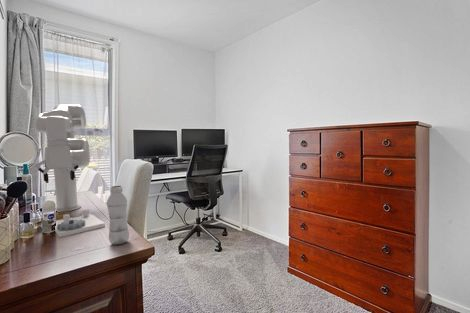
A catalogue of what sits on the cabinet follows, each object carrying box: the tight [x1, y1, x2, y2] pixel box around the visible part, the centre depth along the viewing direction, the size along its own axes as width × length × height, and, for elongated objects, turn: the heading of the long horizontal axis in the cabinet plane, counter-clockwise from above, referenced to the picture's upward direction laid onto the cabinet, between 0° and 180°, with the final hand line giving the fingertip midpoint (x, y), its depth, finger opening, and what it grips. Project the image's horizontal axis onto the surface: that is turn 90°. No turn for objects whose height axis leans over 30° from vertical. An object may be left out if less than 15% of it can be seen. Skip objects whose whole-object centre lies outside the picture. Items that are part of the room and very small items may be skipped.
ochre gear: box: [55, 211, 73, 221], centre depth 119 cm, size 7×7×3 cm
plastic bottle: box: [106, 185, 130, 245], centre depth 89 cm, size 6×7×20 cm
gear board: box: [54, 209, 106, 238], centre depth 110 cm, size 20×16×4 cm
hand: (60, 181), depth 118 cm, fingers open, 9 cm apart
